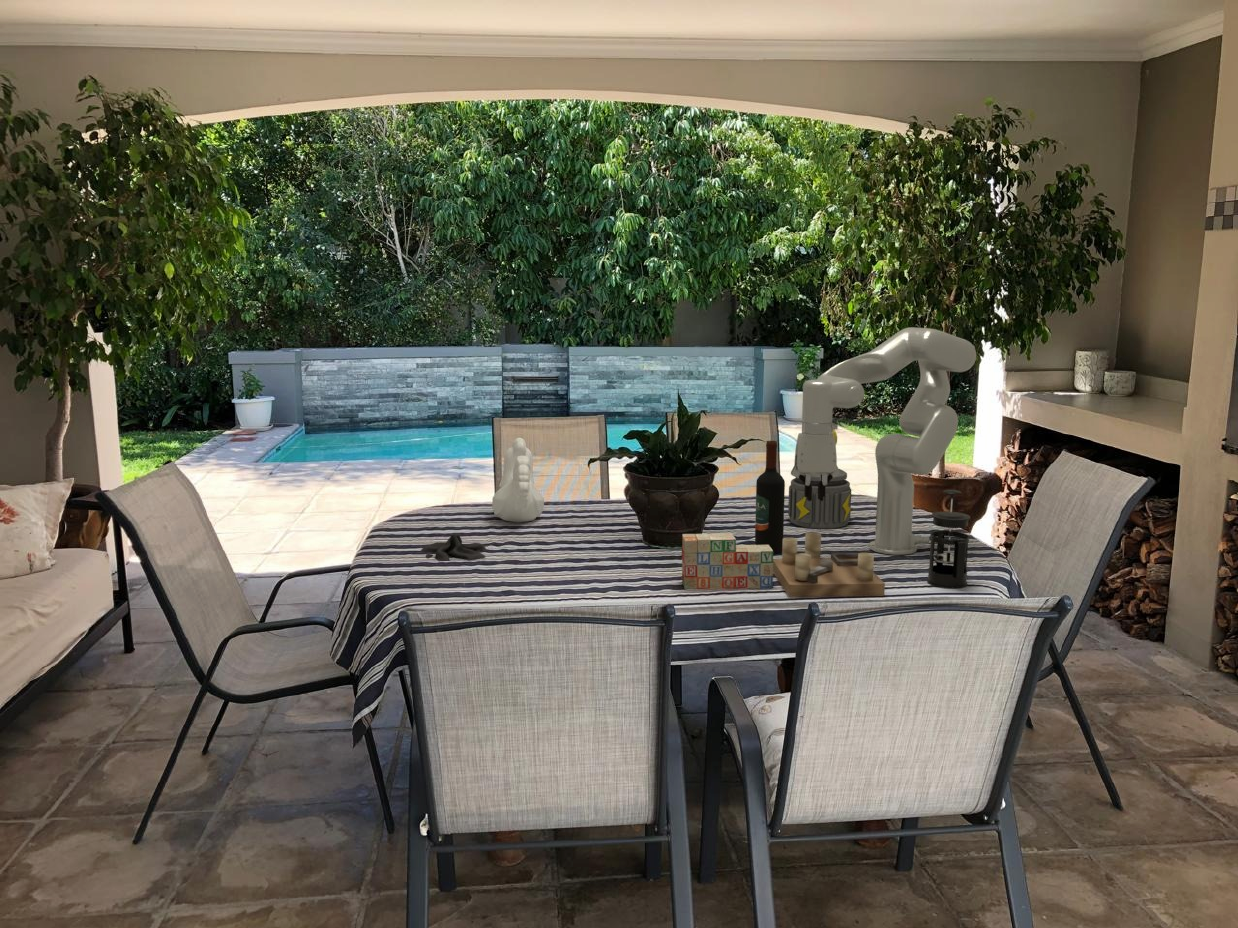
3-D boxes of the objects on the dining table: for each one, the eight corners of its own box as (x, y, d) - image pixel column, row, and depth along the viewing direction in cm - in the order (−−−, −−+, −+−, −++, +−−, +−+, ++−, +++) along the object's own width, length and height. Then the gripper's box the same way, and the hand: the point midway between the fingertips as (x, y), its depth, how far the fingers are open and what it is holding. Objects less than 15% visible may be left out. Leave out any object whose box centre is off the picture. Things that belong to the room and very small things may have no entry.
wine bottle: (782, 555, 283) (785, 444, 277) (753, 553, 284) (756, 443, 279) (783, 547, 290) (786, 439, 284) (755, 546, 291) (758, 438, 286)
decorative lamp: (862, 521, 320) (866, 423, 315) (830, 533, 306) (834, 430, 301) (808, 512, 332) (811, 417, 327) (775, 522, 319) (777, 424, 313)
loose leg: (818, 561, 277) (819, 531, 275) (821, 565, 273) (822, 535, 271) (803, 561, 276) (803, 531, 275) (806, 565, 273) (807, 535, 271)
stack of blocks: (768, 581, 260) (769, 532, 257) (772, 588, 253) (774, 538, 251) (681, 581, 259) (681, 533, 257) (683, 589, 253) (684, 539, 250)
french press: (919, 577, 262) (923, 486, 258) (954, 575, 264) (959, 485, 259) (941, 591, 251) (946, 496, 246) (977, 589, 252) (984, 495, 248)
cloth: (420, 546, 293) (420, 525, 292) (488, 544, 295) (487, 523, 294) (414, 569, 272) (413, 545, 271) (487, 566, 274) (486, 543, 272)
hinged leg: (823, 566, 260) (823, 544, 259) (836, 569, 257) (836, 546, 256) (791, 578, 249) (792, 555, 248) (804, 581, 247) (805, 558, 246)
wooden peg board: (859, 569, 269) (860, 534, 268) (884, 595, 247) (886, 558, 246) (771, 570, 268) (772, 535, 267) (789, 597, 246) (790, 559, 245)
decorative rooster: (496, 512, 332) (494, 434, 328) (546, 512, 332) (545, 434, 327) (484, 532, 307) (482, 447, 303) (538, 532, 307) (537, 447, 303)
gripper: (844, 426, 272) (841, 496, 276) (782, 426, 271) (780, 497, 275) (852, 430, 265) (849, 502, 268) (788, 431, 264) (786, 503, 267)
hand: (814, 499), depth 271 cm, fingers closed
